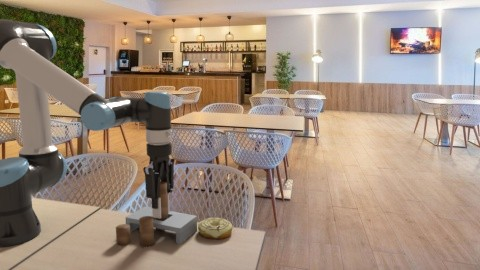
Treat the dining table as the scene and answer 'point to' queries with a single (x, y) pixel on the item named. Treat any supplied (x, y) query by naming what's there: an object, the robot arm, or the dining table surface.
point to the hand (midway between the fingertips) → (161, 214)
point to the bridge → (167, 223)
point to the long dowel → (163, 202)
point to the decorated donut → (215, 228)
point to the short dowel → (123, 234)
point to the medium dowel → (146, 231)
